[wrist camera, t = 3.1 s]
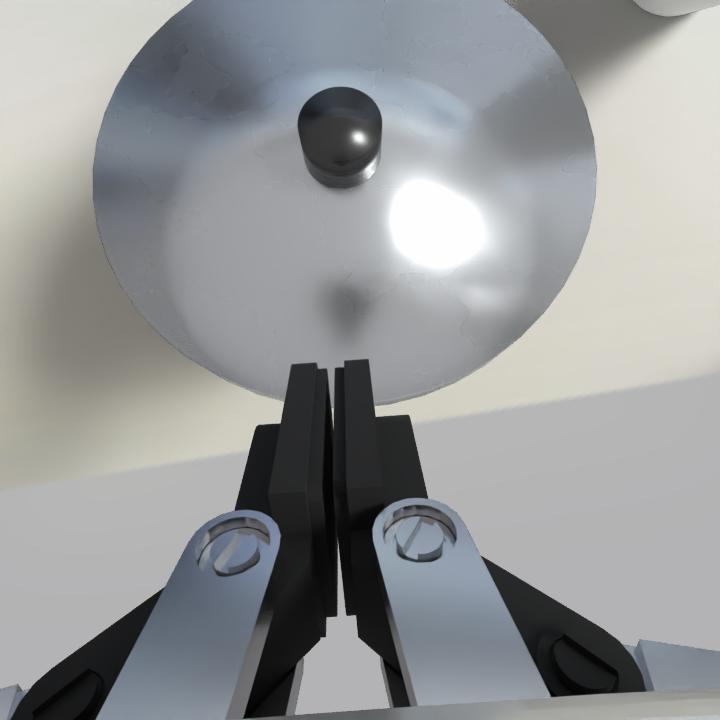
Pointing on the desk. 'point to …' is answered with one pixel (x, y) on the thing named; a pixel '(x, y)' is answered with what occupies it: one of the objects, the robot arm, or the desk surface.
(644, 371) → the desk surface
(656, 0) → the cylindrical container
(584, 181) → the lid
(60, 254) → the desk surface
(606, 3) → the desk surface
